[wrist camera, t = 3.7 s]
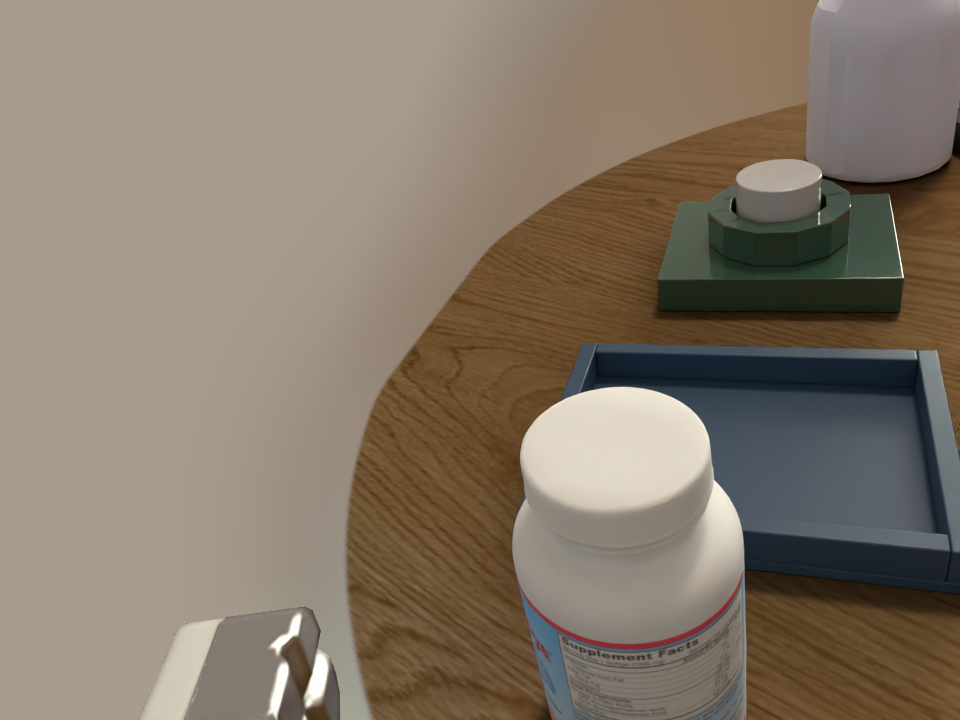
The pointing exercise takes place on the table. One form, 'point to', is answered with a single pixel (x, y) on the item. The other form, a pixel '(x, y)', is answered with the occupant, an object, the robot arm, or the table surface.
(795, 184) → the white short cylinder
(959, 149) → the vhs tape
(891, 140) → the soap bottle
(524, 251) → the table surface
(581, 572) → the pill bottle
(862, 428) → the dish
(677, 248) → the button base
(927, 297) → the table surface
